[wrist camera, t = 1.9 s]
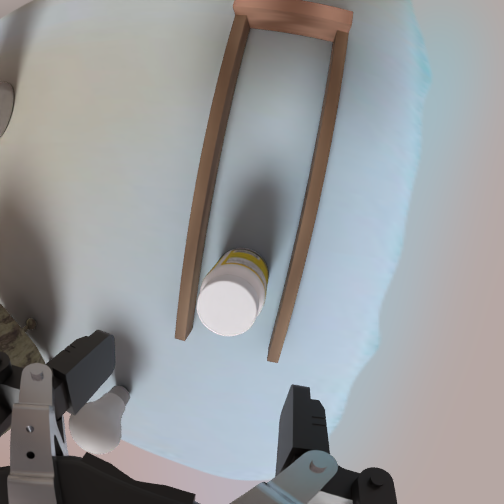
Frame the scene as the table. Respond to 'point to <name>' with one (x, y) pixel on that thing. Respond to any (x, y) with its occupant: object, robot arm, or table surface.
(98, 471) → the robot arm
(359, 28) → the table surface
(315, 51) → the table surface
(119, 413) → the lightbulb
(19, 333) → the tabletop clock
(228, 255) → the supplement bottle
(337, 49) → the guide track
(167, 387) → the table surface
